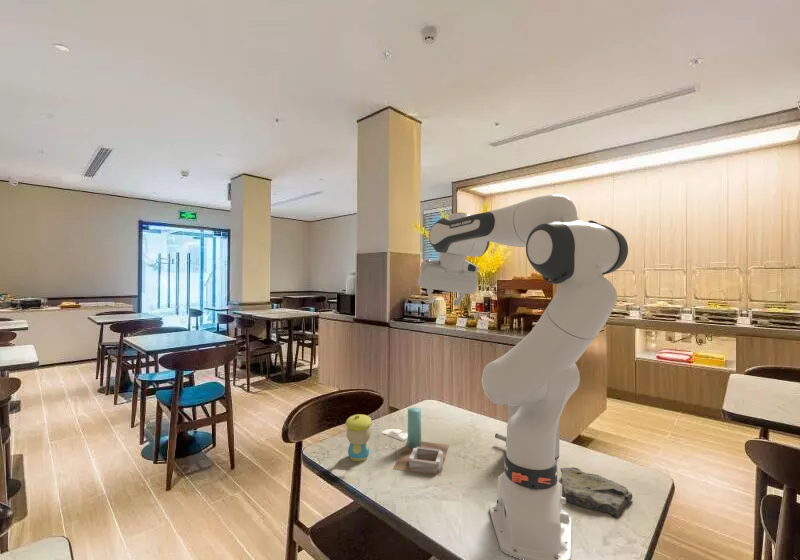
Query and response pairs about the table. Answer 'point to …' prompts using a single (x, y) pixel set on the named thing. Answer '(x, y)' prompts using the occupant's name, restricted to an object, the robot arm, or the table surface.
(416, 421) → the teal peg
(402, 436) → the toy car
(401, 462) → the walnut board
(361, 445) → the toy
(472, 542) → the table surface
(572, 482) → the stone
